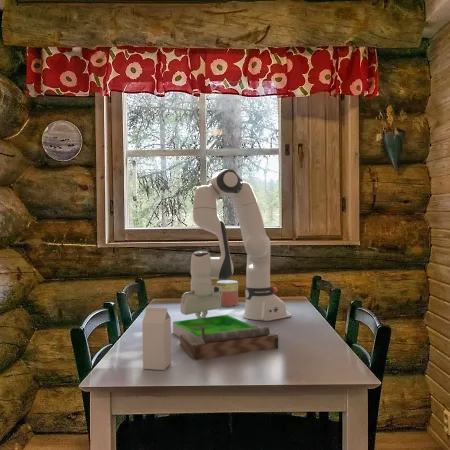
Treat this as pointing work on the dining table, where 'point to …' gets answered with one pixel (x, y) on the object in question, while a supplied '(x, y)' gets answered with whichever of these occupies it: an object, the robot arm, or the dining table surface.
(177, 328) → the tray
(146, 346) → the milk carton
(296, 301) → the dining table surface
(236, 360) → the dining table surface
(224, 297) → the canned food
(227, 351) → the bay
